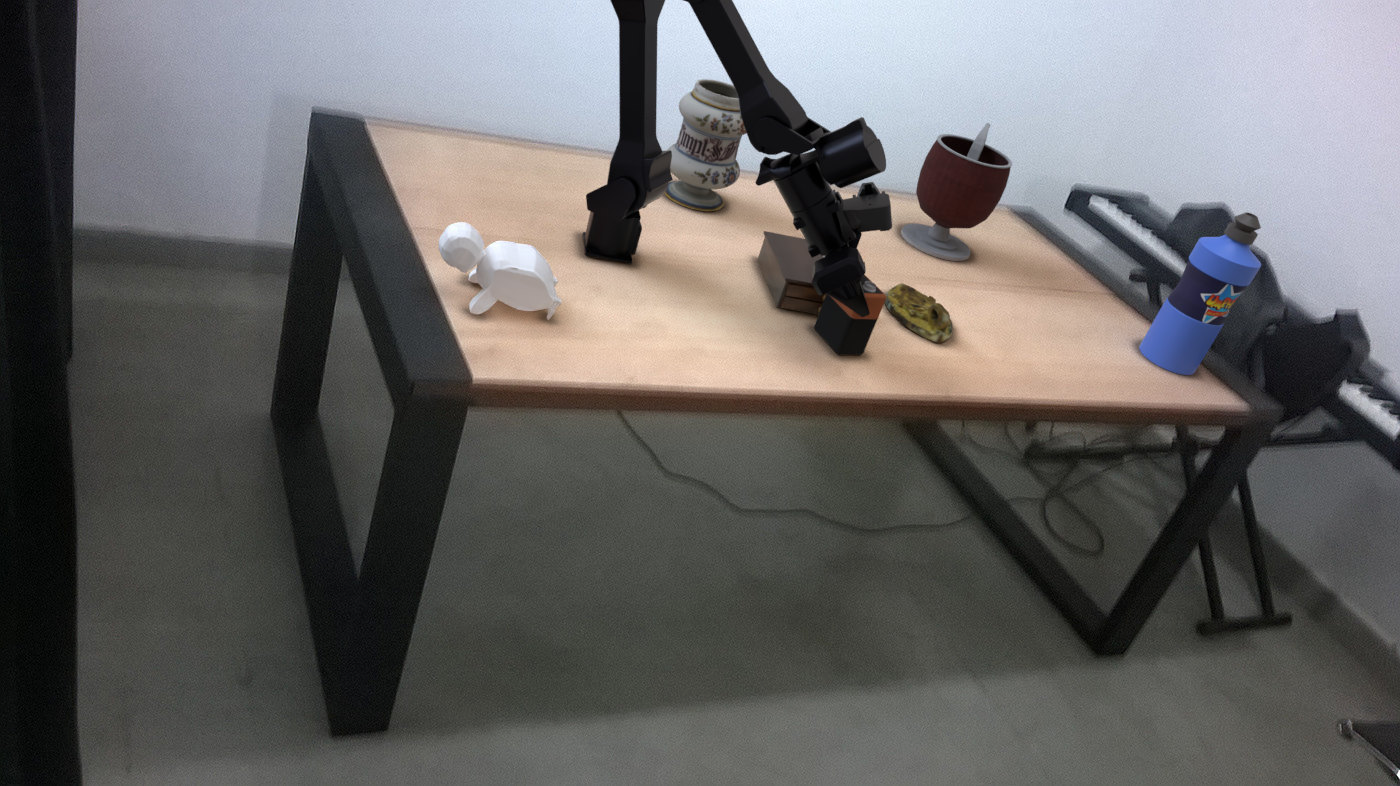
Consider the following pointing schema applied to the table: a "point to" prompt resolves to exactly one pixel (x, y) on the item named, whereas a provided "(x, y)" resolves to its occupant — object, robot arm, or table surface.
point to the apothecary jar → (706, 145)
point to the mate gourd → (957, 192)
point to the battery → (849, 321)
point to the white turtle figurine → (500, 271)
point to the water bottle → (1203, 297)
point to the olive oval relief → (919, 313)
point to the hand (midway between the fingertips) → (864, 301)
